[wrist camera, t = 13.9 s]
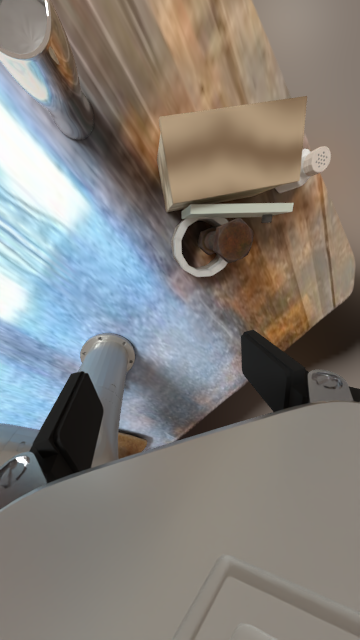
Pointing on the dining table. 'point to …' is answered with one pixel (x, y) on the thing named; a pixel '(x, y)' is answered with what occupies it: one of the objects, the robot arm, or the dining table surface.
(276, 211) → the grey piece
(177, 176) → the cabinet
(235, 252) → the bolt
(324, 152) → the pepper shaker
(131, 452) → the tan hollow piece
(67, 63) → the silver tall cylinder
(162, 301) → the dining table surface
